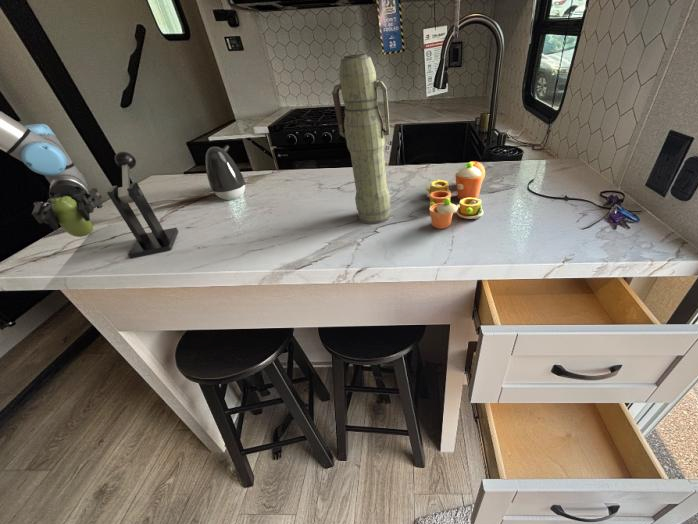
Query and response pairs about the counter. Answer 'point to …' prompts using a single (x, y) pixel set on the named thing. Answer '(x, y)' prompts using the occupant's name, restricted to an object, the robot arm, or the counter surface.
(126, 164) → the lever with ball knob
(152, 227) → the dark grey slanted stand
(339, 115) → the thermos
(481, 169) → the clementine
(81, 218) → the pear
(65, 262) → the counter surface
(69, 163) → the robot arm
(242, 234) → the counter surface
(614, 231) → the counter surface
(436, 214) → the toy tea set
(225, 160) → the pump dispenser
